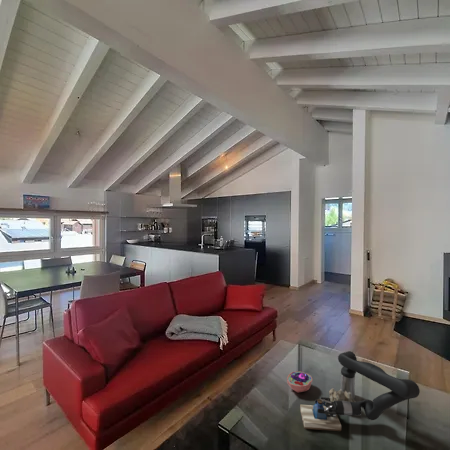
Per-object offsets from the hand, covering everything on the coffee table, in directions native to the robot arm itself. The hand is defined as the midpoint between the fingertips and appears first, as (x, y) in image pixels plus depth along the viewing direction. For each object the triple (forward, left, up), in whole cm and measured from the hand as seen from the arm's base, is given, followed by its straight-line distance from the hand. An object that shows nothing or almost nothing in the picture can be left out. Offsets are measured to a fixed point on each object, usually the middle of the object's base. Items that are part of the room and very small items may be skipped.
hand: (316, 406), depth 170 cm
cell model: (-29, -6, -10) cm, 31 cm away
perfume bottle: (0, +2, -9) cm, 9 cm away
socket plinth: (0, +2, -9) cm, 10 cm away
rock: (-15, +21, -10) cm, 27 cm away
